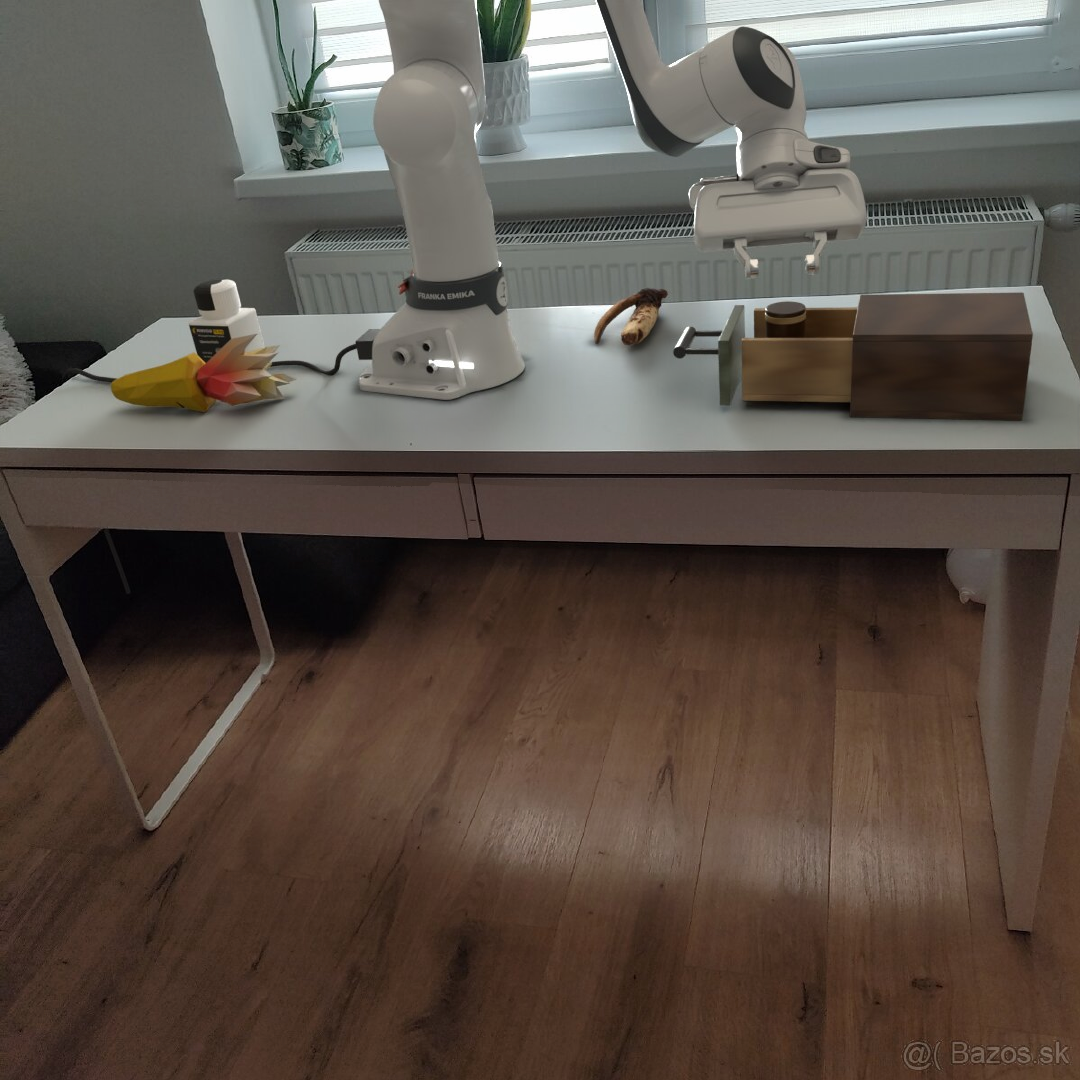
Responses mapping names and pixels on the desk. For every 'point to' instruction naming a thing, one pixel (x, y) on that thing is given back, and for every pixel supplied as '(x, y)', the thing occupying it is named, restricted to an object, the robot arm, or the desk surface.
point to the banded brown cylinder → (785, 320)
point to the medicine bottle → (222, 319)
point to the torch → (205, 379)
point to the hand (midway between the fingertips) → (782, 274)
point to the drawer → (782, 357)
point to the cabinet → (941, 356)
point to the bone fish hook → (634, 315)
